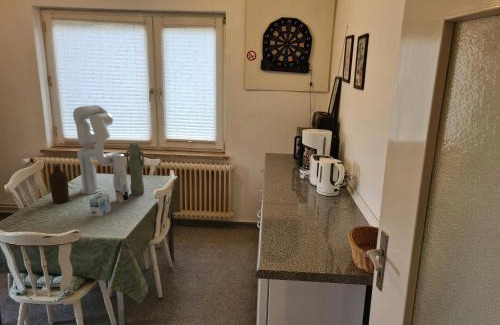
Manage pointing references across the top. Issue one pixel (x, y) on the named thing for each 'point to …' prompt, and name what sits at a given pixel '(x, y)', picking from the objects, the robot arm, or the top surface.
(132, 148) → the thermos
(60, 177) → the olive oil
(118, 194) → the beech block
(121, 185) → the robot arm
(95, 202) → the light bulb box
